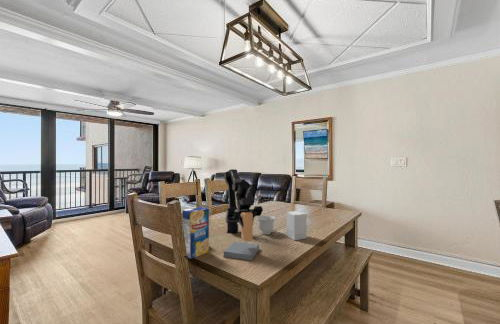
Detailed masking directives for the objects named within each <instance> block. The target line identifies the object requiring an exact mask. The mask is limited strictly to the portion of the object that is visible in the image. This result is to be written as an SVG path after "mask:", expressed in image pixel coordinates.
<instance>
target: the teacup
mask: <svg viewBox="0 0 500 324" xmlns="http://www.w3.org/2000/svg"><path fill="white" fill-rule="evenodd" d="M256 219H257V222H258V228H259V230H260V231H261V234H263V235H270V234H271V233H272V231H273V230H274V225H275V220H276V217H275V216H274V215H268V214H265V215H263V214H261V215H260V216H256Z"/></svg>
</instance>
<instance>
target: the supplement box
mask: <svg viewBox="0 0 500 324" xmlns="http://www.w3.org/2000/svg"><path fill="white" fill-rule="evenodd" d="M307 218H308V217H307V213H305V212H302V211H299V210H294V211H287V212H286V237H287V238H289V239H290V240H293V241H300V240H305V239H307V228H308V227H307V225H308V223H307Z"/></svg>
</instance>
